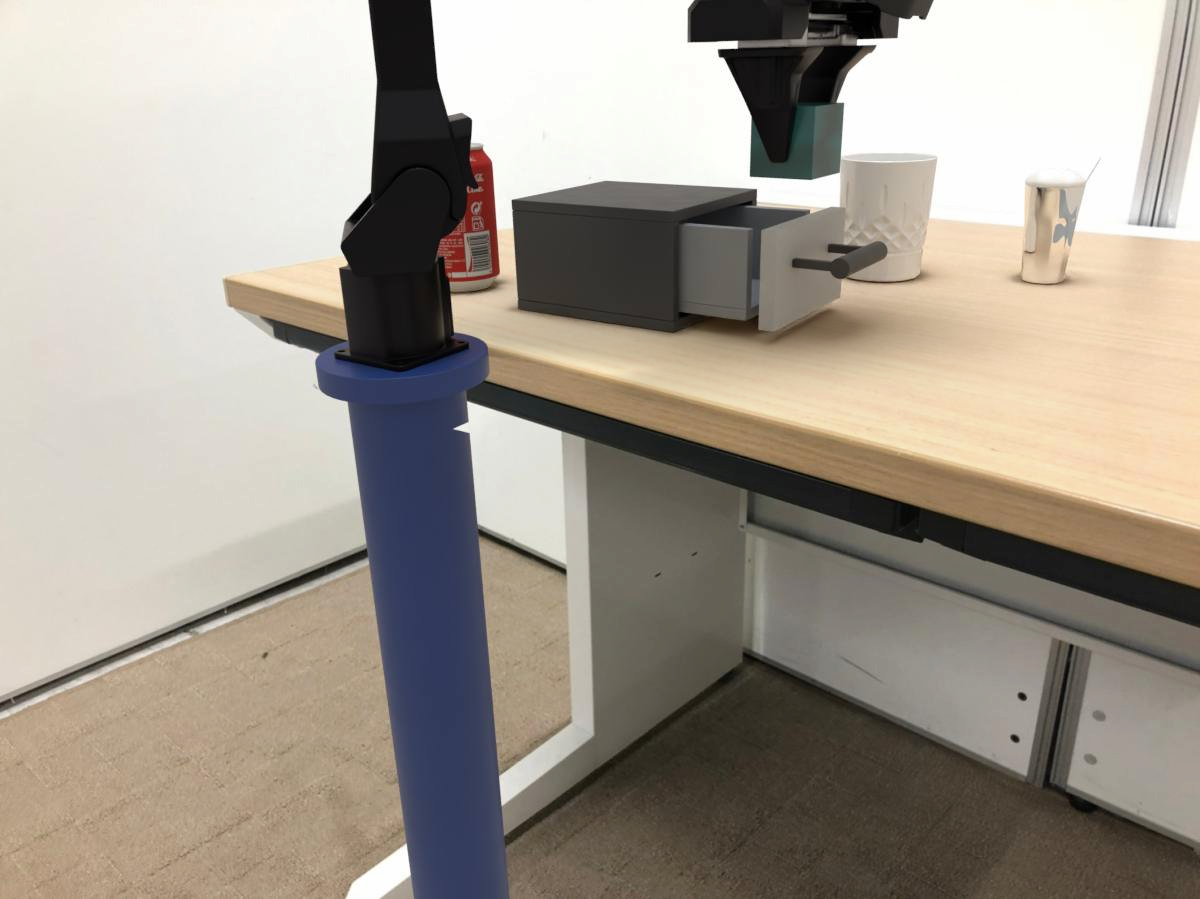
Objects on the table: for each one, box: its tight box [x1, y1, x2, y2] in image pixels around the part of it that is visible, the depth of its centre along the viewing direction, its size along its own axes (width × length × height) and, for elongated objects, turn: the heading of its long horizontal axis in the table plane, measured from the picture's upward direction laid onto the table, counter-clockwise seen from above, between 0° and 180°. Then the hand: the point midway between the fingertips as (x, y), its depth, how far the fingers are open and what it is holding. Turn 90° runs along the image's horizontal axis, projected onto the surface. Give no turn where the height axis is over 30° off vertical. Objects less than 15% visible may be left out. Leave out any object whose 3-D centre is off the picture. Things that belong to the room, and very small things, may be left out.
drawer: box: [678, 205, 888, 333], centre depth 72 cm, size 18×11×7 cm, turn 55°
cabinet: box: [511, 180, 758, 333], centre depth 78 cm, size 15×13×9 cm
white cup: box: [839, 151, 938, 283], centre depth 85 cm, size 8×8×10 cm
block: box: [749, 102, 845, 181], centre depth 65 cm, size 4×4×4 cm
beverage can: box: [437, 142, 501, 293], centre depth 85 cm, size 6×6×12 cm
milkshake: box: [1020, 157, 1102, 285], centre depth 81 cm, size 5×5×10 cm
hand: (794, 159), depth 66 cm, fingers closed on block, 4 cm apart
